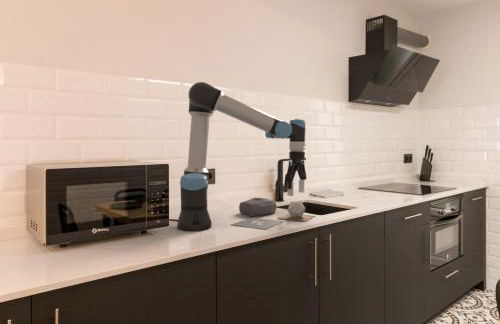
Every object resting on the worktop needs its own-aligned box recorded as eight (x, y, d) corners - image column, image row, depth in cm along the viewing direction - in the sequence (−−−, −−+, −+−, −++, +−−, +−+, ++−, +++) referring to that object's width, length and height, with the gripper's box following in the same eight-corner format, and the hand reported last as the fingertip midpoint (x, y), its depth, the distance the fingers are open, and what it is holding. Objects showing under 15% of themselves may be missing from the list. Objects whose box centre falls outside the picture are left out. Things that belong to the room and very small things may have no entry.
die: (300, 221, 179) (309, 204, 181) (284, 211, 180) (294, 195, 182) (298, 223, 186) (307, 207, 189) (283, 214, 188) (292, 198, 190)
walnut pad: (304, 222, 175) (304, 221, 175) (277, 218, 182) (277, 218, 182) (315, 216, 187) (315, 215, 187) (289, 213, 194) (289, 213, 194)
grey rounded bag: (253, 218, 185) (283, 213, 197) (253, 201, 184) (282, 197, 197) (235, 213, 197) (264, 209, 209) (235, 197, 196) (264, 194, 209)
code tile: (265, 229, 161) (265, 229, 161) (230, 225, 170) (230, 224, 170) (283, 221, 176) (283, 221, 176) (250, 217, 185) (250, 217, 185)
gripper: (293, 151, 170) (292, 197, 171) (313, 150, 191) (312, 191, 193) (278, 151, 174) (277, 196, 175) (299, 150, 195) (298, 190, 197)
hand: (296, 194), depth 184 cm, fingers open, 13 cm apart
